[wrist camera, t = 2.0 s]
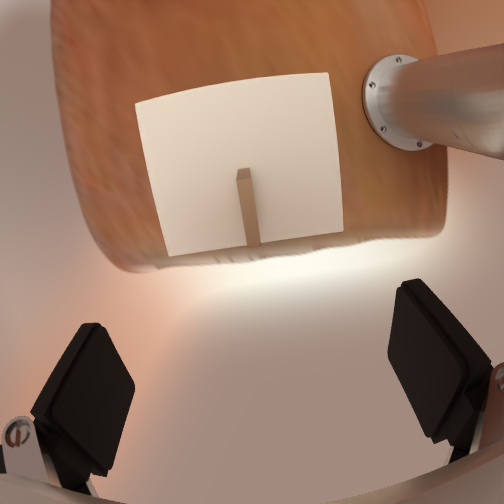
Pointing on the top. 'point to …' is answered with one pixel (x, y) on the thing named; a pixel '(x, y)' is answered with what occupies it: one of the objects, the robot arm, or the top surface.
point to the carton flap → (243, 162)
